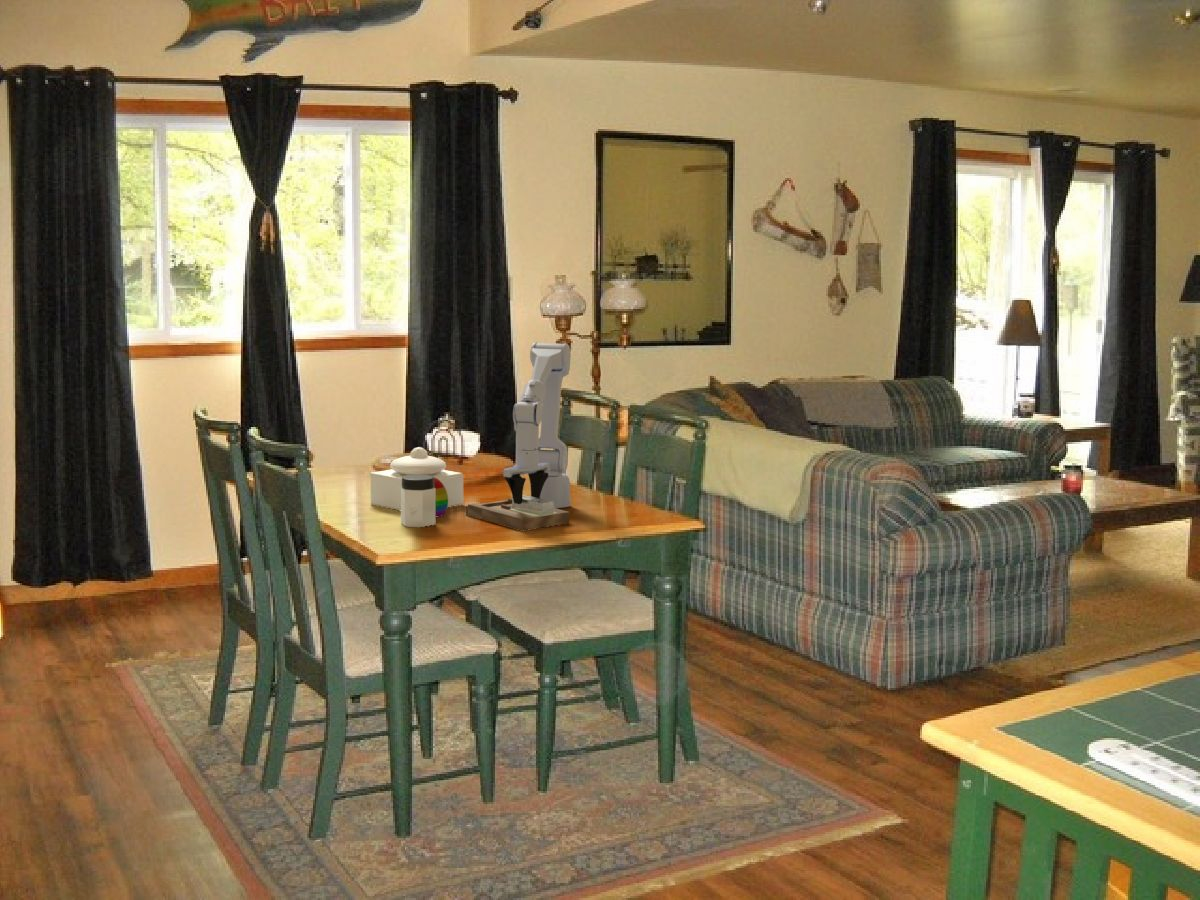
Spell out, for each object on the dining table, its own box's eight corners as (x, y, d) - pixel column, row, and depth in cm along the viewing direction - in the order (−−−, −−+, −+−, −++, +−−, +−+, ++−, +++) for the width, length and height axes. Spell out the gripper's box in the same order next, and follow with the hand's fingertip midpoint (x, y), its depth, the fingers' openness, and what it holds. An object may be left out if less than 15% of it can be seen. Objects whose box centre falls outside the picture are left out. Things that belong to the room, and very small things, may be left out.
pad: (531, 507, 342) (531, 506, 342) (557, 513, 335) (557, 512, 335) (509, 510, 338) (509, 509, 338) (535, 517, 330) (535, 516, 330)
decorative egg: (413, 512, 347) (413, 475, 346) (444, 511, 350) (444, 474, 348) (419, 519, 340) (419, 480, 338) (451, 517, 342) (451, 479, 341)
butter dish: (414, 514, 346) (414, 454, 343) (369, 505, 357) (368, 446, 355) (463, 505, 359) (463, 447, 357) (418, 496, 370) (418, 440, 368)
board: (511, 508, 356) (511, 494, 355) (569, 523, 338) (569, 508, 337) (465, 515, 346) (465, 500, 345) (522, 531, 328) (522, 516, 327)
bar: (523, 506, 342) (523, 494, 341) (553, 512, 334) (553, 501, 334) (512, 508, 339) (512, 496, 338) (542, 514, 332) (542, 503, 331)
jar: (395, 526, 330) (395, 479, 329) (405, 519, 338) (405, 473, 337) (430, 528, 329) (430, 480, 327) (439, 521, 337) (439, 475, 335)
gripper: (536, 444, 344) (535, 495, 346) (495, 450, 333) (494, 503, 335) (555, 447, 339) (555, 499, 341) (514, 453, 329) (514, 507, 331)
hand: (526, 501), depth 338 cm, fingers open, 6 cm apart
